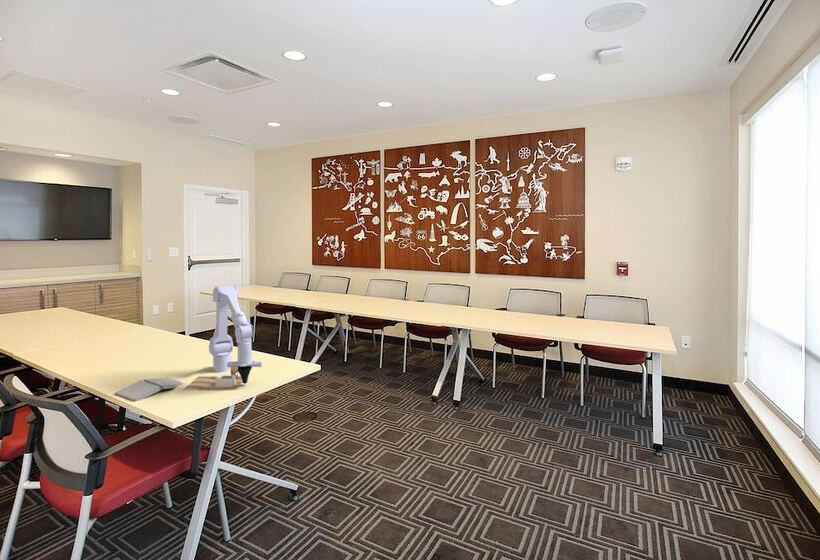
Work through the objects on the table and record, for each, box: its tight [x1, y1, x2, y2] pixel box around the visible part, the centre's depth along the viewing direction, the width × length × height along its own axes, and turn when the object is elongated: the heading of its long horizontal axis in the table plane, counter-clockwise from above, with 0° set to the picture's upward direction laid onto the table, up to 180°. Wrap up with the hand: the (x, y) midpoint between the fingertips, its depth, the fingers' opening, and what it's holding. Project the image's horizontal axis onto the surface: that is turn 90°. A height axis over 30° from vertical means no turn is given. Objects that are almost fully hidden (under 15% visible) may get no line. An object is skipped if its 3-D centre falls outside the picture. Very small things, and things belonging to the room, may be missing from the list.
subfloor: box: [182, 375, 243, 391], centre depth 200 cm, size 18×22×1 cm
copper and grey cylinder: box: [230, 367, 239, 379], centre depth 206 cm, size 3×3×7 cm
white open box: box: [215, 375, 236, 387], centre depth 197 cm, size 5×7×4 cm
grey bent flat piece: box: [114, 376, 185, 402], centre depth 193 cm, size 23×15×4 cm, turn 150°
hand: (245, 382), depth 197 cm, fingers closed
